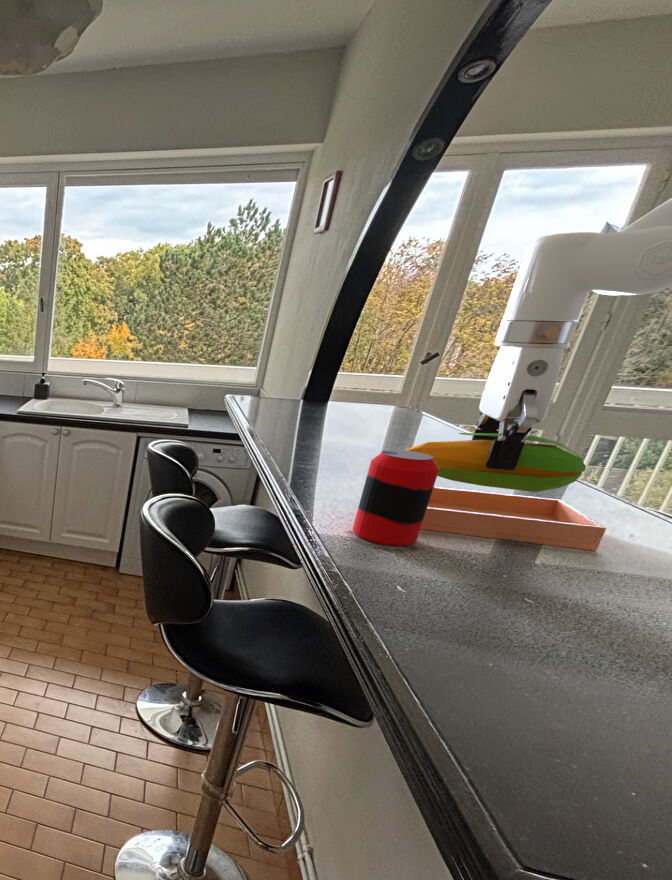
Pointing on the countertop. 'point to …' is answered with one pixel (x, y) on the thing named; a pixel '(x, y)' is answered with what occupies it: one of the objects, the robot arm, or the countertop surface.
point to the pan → (511, 518)
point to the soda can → (395, 497)
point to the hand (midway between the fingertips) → (489, 461)
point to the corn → (532, 472)
